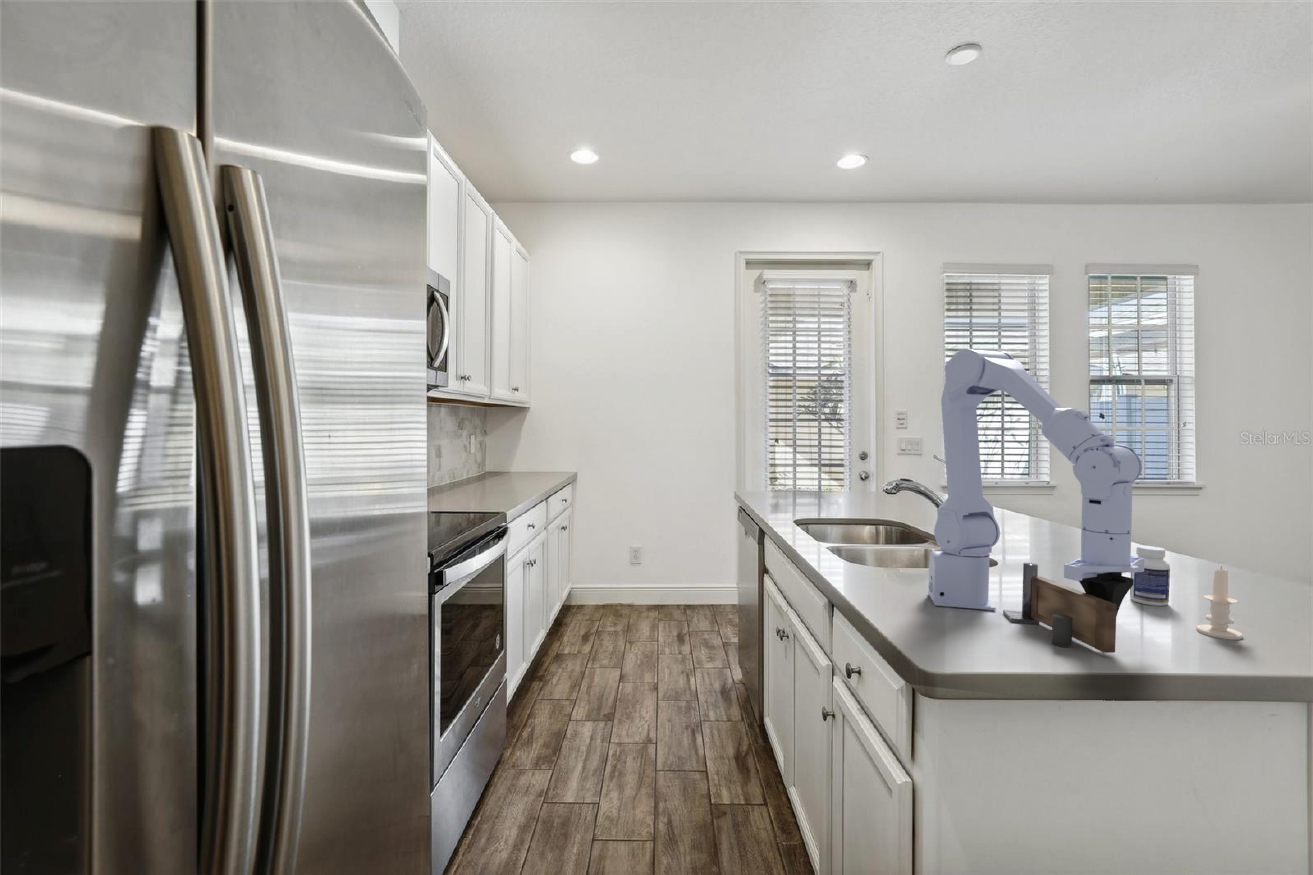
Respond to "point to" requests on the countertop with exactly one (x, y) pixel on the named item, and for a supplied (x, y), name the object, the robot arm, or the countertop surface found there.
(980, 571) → the robot arm
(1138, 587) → the pill bottle
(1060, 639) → the block
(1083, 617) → the gate
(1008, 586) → the countertop surface
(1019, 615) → the gate post
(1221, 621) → the candle
